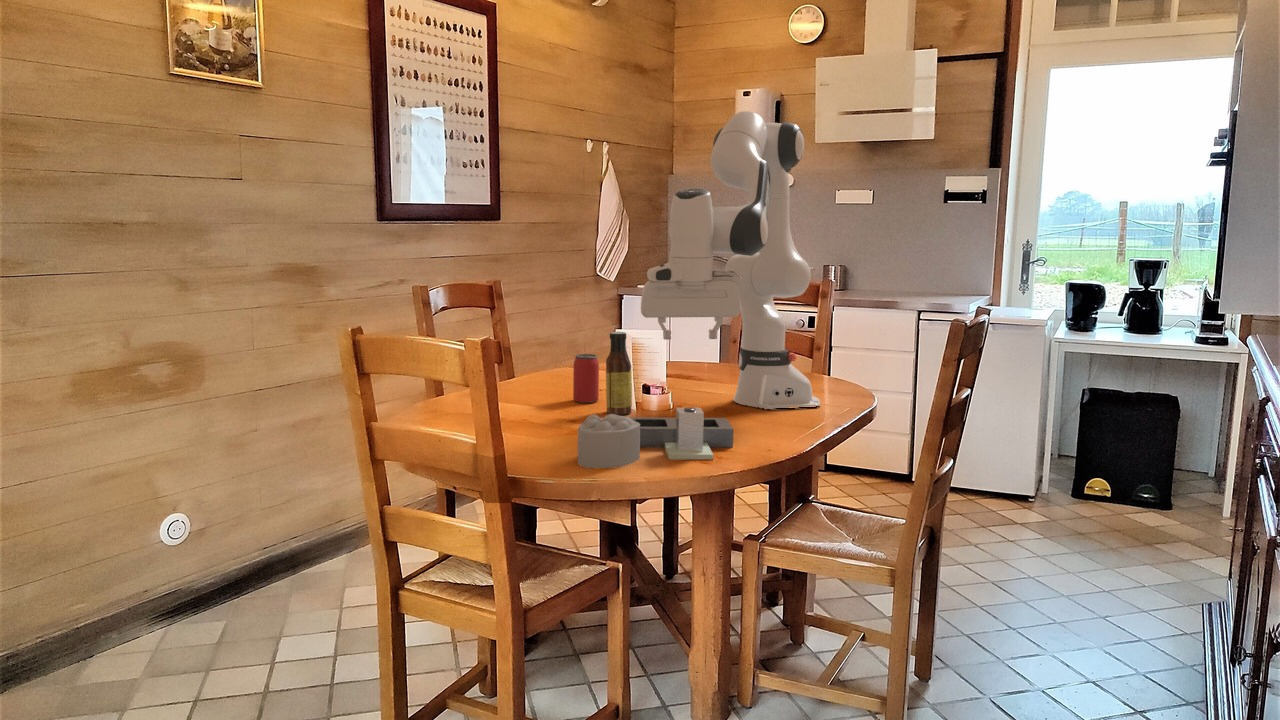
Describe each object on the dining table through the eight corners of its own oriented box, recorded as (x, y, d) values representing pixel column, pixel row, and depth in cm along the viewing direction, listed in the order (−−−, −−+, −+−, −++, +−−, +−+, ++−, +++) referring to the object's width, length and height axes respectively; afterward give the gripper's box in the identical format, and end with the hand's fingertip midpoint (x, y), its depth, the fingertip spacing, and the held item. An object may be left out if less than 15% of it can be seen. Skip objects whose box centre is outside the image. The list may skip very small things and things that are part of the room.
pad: (706, 447, 180) (707, 442, 180) (713, 459, 171) (713, 454, 171) (664, 447, 180) (664, 442, 179) (668, 459, 171) (668, 454, 171)
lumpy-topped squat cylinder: (646, 458, 172) (647, 416, 170) (605, 473, 161) (606, 428, 160) (606, 449, 178) (606, 408, 176) (564, 462, 167) (564, 419, 166)
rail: (725, 435, 190) (725, 417, 190) (732, 447, 181) (733, 429, 180) (617, 435, 189) (617, 417, 188) (619, 447, 179) (619, 428, 178)
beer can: (600, 399, 225) (600, 354, 223) (596, 404, 219) (597, 358, 217) (575, 398, 226) (575, 353, 224) (571, 403, 219) (571, 357, 217)
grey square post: (699, 445, 178) (700, 406, 177) (702, 451, 173) (703, 411, 172) (675, 445, 178) (676, 406, 176) (678, 451, 173) (679, 411, 171)
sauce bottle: (636, 413, 210) (638, 333, 207) (619, 417, 206) (620, 335, 202) (617, 408, 214) (619, 330, 211) (600, 412, 210) (601, 332, 207)
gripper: (738, 269, 176) (737, 336, 179) (639, 270, 175) (639, 337, 177) (744, 272, 170) (743, 340, 173) (642, 272, 169) (642, 341, 171)
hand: (690, 338), depth 175 cm, fingers open, 8 cm apart
